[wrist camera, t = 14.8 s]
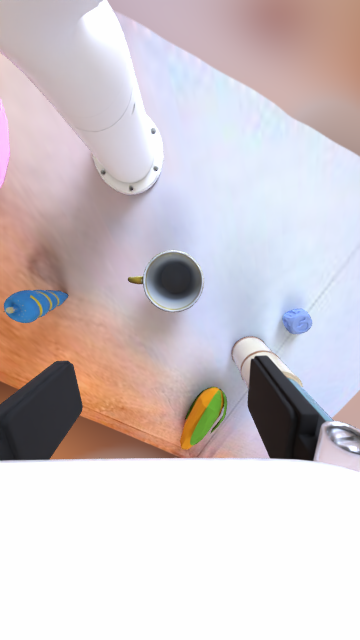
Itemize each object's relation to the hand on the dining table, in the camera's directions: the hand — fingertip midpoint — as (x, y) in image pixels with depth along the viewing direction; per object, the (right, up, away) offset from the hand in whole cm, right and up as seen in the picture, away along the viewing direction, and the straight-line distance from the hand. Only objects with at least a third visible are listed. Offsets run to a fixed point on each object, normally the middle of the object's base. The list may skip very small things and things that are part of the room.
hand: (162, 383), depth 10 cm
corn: (+6, -21, +41) cm, 46 cm away
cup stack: (+17, -4, +35) cm, 40 cm away
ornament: (-24, +9, +33) cm, 42 cm away
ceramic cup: (-1, +12, +31) cm, 34 cm away
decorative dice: (+26, +4, +33) cm, 42 cm away
